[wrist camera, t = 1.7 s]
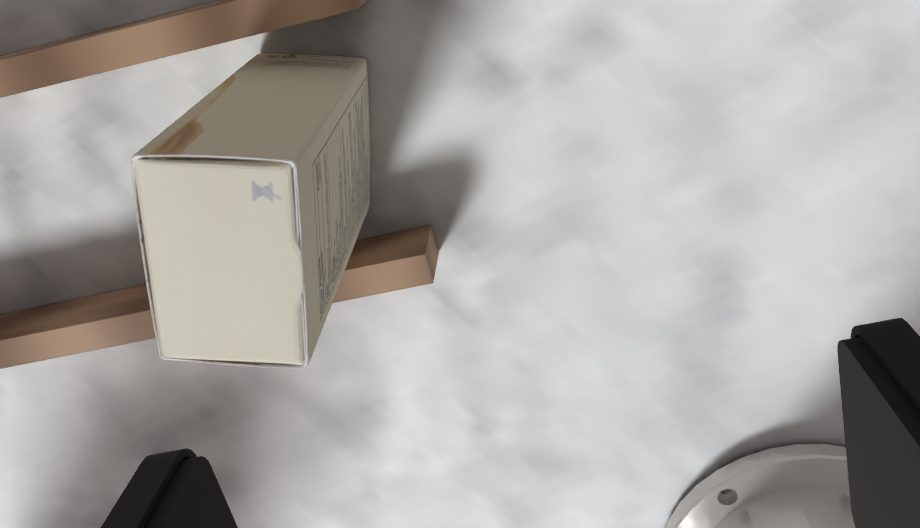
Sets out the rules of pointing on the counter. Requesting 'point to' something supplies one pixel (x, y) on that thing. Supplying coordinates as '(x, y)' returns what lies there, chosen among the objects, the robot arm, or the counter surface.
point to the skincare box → (255, 210)
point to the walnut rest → (128, 310)
